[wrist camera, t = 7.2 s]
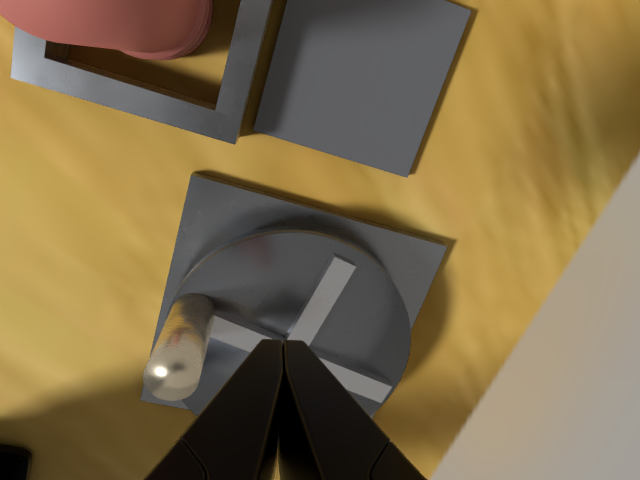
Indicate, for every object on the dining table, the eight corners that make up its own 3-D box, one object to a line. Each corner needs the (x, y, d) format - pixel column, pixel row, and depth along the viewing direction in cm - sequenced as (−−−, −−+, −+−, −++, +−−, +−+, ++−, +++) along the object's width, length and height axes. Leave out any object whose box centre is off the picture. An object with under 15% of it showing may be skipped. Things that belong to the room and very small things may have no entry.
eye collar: (238, 137, 19) (234, 144, 17) (38, 76, 18) (10, 77, 16) (292, -74, 17) (294, -91, 15) (64, -165, 15) (35, -197, 13)
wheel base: (360, 433, 26) (364, 451, 24) (143, 392, 23) (136, 410, 22) (443, 242, 22) (452, 252, 21) (193, 171, 20) (188, 178, 18)
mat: (404, 175, 21) (407, 177, 20) (253, 129, 19) (253, 130, 19) (467, 11, 18) (471, 10, 18) (301, -54, 17) (301, -56, 17)
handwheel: (449, 288, 21) (504, 357, 16) (334, 456, 24) (350, 560, 19) (228, 181, 18) (210, 225, 13) (131, 386, 21) (85, 485, 16)
